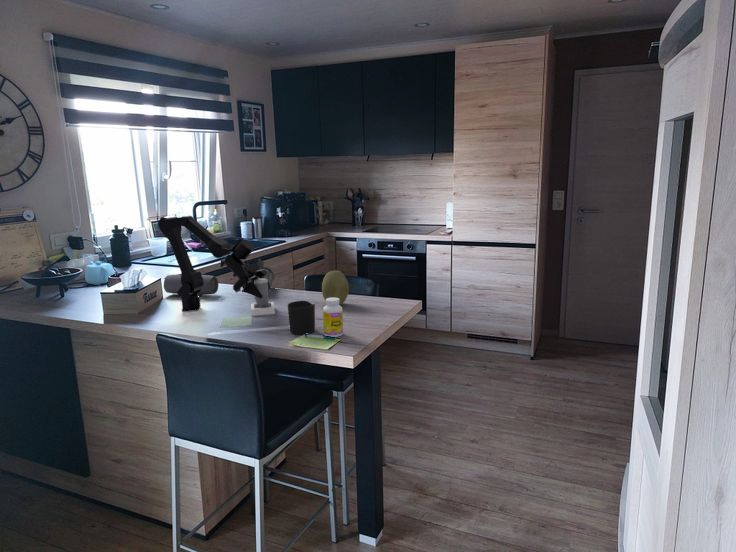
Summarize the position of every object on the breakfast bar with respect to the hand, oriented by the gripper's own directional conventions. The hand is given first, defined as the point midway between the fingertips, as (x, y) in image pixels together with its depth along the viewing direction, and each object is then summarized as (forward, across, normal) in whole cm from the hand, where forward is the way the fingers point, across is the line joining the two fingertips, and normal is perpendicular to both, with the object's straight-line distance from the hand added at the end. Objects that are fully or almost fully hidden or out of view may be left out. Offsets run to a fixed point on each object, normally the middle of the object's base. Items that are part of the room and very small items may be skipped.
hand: (265, 295), depth 199 cm
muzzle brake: (-8, +34, +19) cm, 39 cm away
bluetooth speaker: (-28, +20, +39) cm, 52 cm away
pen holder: (+22, -16, -10) cm, 29 cm away
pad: (+2, -14, +9) cm, 17 cm away
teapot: (-74, +33, +85) cm, 118 cm away
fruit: (+21, +19, -10) cm, 30 cm away
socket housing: (+4, 0, +6) cm, 8 cm away
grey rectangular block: (+4, 0, +6) cm, 7 cm away
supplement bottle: (+30, -18, -19) cm, 40 cm away
